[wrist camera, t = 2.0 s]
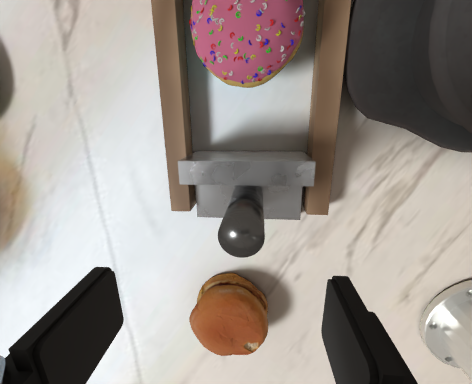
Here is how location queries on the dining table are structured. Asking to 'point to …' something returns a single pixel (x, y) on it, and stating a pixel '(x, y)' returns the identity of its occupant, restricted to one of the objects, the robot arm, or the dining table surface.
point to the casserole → (413, 67)
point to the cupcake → (246, 37)
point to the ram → (247, 191)
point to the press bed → (322, 99)
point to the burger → (230, 316)
